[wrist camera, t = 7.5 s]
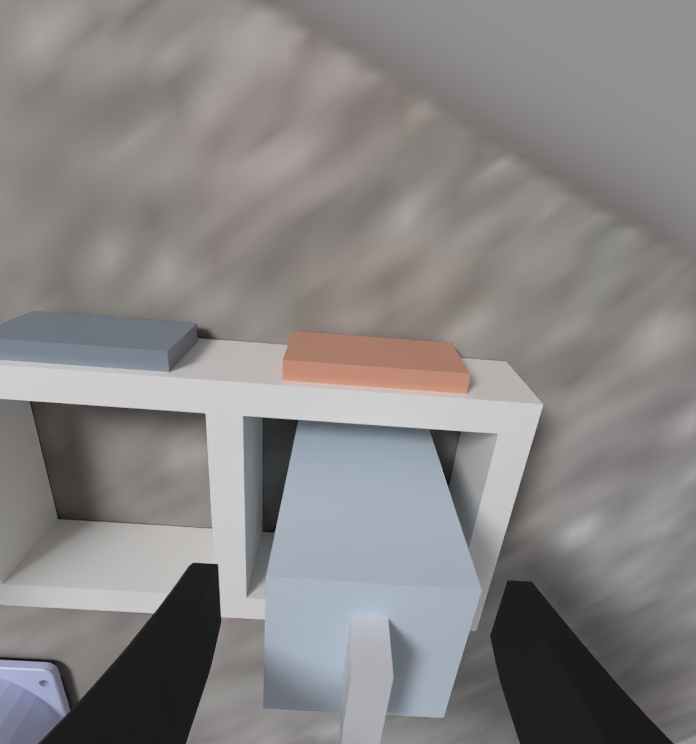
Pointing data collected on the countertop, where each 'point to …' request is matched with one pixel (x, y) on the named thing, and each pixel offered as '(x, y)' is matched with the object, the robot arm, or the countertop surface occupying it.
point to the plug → (366, 579)
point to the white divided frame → (232, 446)
